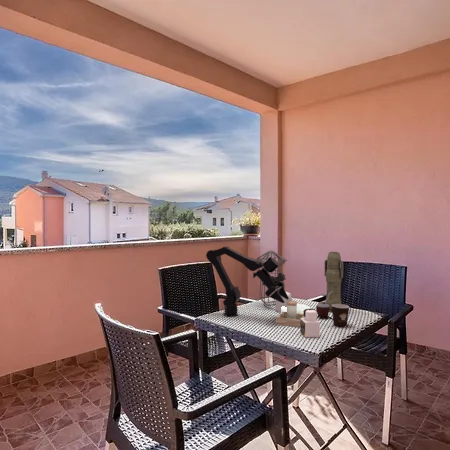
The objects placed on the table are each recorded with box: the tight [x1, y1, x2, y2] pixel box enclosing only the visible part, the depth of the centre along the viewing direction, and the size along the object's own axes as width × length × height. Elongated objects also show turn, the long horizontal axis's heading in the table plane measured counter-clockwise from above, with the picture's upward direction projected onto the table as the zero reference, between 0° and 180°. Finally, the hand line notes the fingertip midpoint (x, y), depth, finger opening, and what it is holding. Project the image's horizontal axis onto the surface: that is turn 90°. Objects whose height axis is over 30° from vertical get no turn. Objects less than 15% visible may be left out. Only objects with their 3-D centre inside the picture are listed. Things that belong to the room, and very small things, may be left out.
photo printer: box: [275, 290, 293, 313], centre depth 209 cm, size 10×4×12 cm, turn 39°
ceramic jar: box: [287, 300, 298, 319], centre depth 188 cm, size 5×5×11 cm
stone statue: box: [323, 251, 345, 314], centre depth 213 cm, size 9×12×35 cm
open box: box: [275, 312, 303, 328], centre depth 188 cm, size 13×13×4 cm
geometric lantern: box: [256, 250, 288, 309], centre depth 222 cm, size 16×16×35 cm
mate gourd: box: [315, 291, 333, 320], centre depth 199 cm, size 8×8×15 cm
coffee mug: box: [325, 303, 350, 328], centre depth 185 cm, size 12×9×10 cm
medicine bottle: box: [299, 308, 321, 338], centre depth 168 cm, size 7×7×12 cm
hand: (286, 300), depth 189 cm, fingers open, 9 cm apart
